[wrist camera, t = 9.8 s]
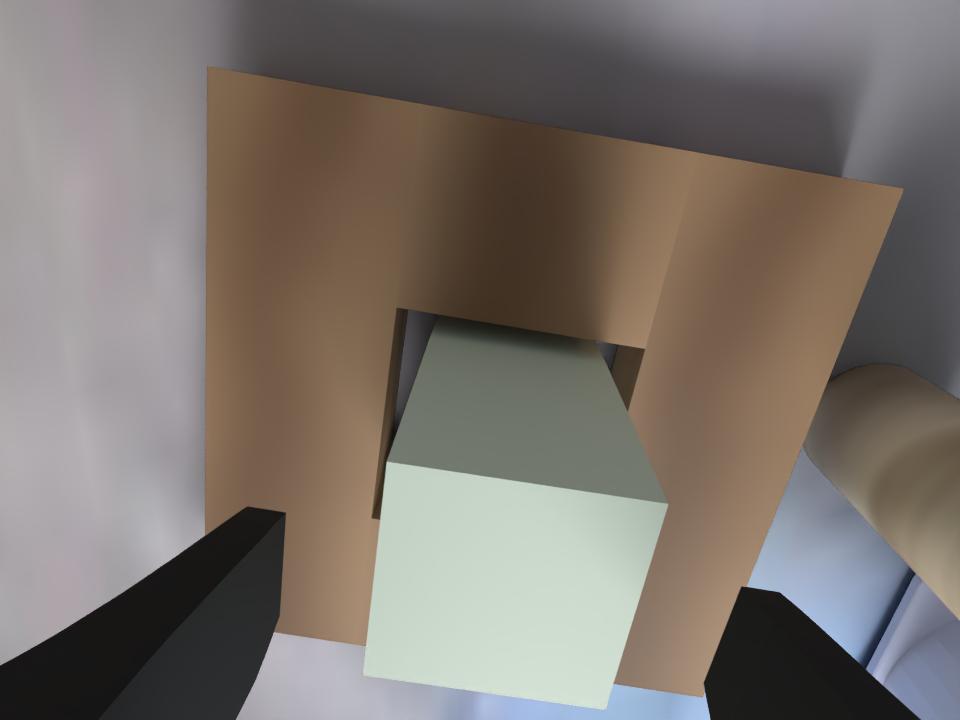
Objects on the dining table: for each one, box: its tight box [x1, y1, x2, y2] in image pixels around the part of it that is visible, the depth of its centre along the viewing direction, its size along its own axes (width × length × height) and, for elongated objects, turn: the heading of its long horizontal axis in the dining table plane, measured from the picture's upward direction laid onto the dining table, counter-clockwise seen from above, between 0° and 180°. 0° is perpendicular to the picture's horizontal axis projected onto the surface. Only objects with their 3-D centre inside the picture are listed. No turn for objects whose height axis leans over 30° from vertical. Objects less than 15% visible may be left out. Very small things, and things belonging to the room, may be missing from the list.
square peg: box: [363, 314, 668, 710], centre depth 13 cm, size 4×4×8 cm
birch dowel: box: [803, 364, 960, 620], centre depth 14 cm, size 4×4×7 cm
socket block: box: [205, 66, 904, 697], centre depth 16 cm, size 14×14×2 cm
